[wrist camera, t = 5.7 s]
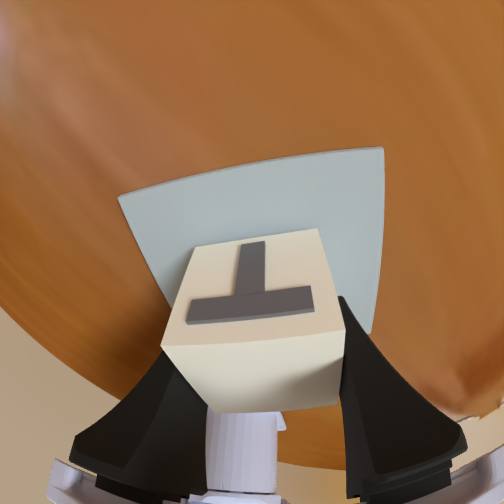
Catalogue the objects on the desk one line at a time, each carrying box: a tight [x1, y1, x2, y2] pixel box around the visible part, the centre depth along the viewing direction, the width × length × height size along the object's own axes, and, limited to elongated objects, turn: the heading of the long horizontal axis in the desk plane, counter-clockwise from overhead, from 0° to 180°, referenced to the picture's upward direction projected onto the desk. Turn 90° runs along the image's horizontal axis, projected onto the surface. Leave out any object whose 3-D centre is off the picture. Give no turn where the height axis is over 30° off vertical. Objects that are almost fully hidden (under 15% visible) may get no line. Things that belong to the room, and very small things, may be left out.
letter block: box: [160, 228, 346, 413], centre depth 10 cm, size 5×5×5 cm
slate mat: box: [118, 147, 385, 334], centre depth 13 cm, size 11×11×1 cm
